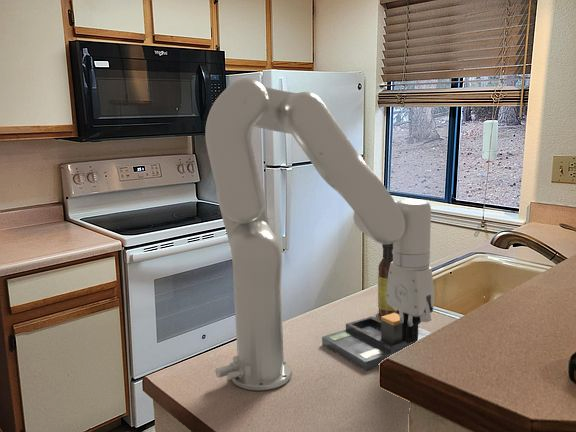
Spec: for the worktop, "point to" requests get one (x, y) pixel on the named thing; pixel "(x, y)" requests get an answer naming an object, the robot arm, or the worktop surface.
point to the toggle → (391, 328)
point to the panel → (364, 343)
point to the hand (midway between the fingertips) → (409, 340)
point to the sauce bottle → (384, 280)
